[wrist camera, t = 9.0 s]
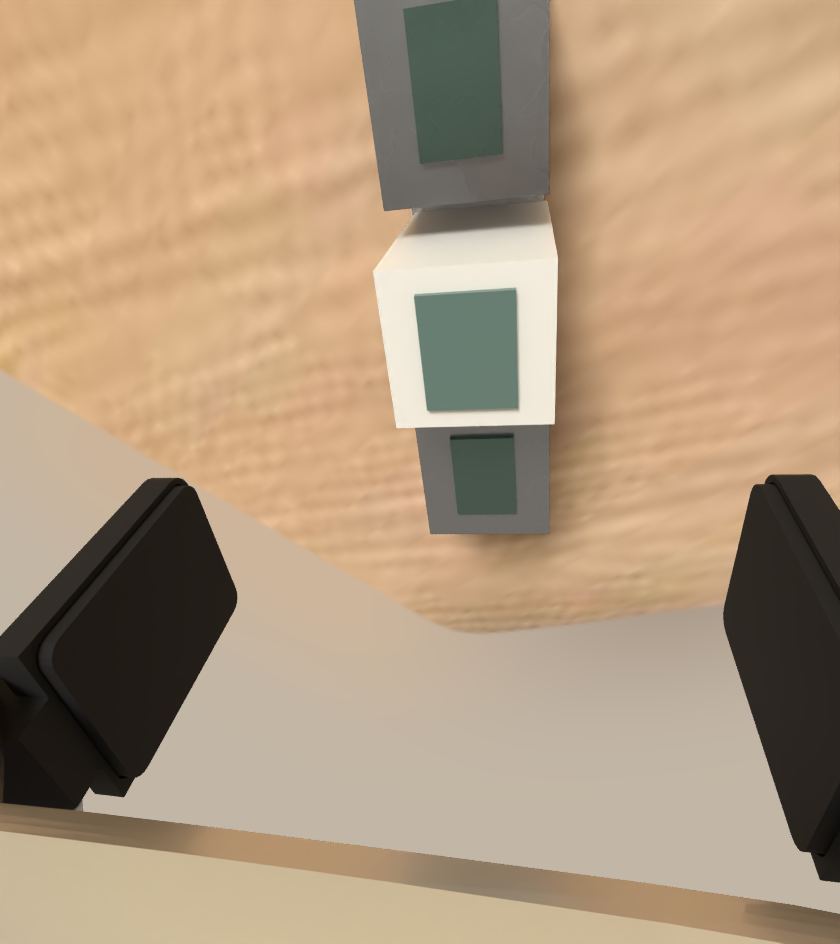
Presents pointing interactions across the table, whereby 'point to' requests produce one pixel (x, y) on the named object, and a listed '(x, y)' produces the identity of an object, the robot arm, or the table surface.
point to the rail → (465, 201)
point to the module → (471, 317)
